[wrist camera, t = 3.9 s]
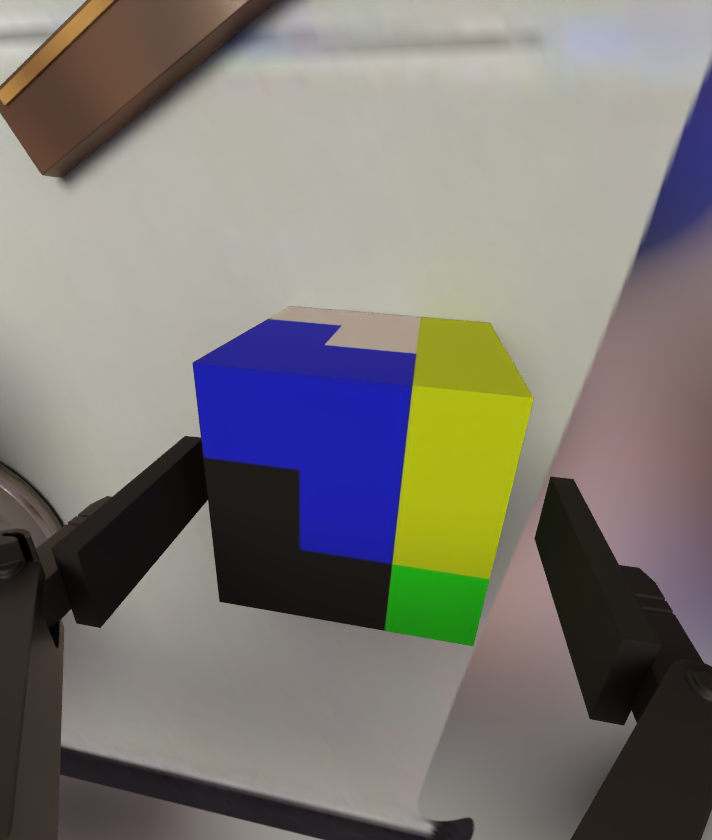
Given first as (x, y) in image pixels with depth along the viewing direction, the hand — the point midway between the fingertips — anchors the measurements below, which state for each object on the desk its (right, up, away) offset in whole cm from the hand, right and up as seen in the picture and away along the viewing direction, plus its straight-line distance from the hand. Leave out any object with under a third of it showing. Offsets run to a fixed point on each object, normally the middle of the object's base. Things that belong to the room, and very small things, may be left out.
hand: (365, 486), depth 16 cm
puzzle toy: (+1, +3, +7) cm, 8 cm away
